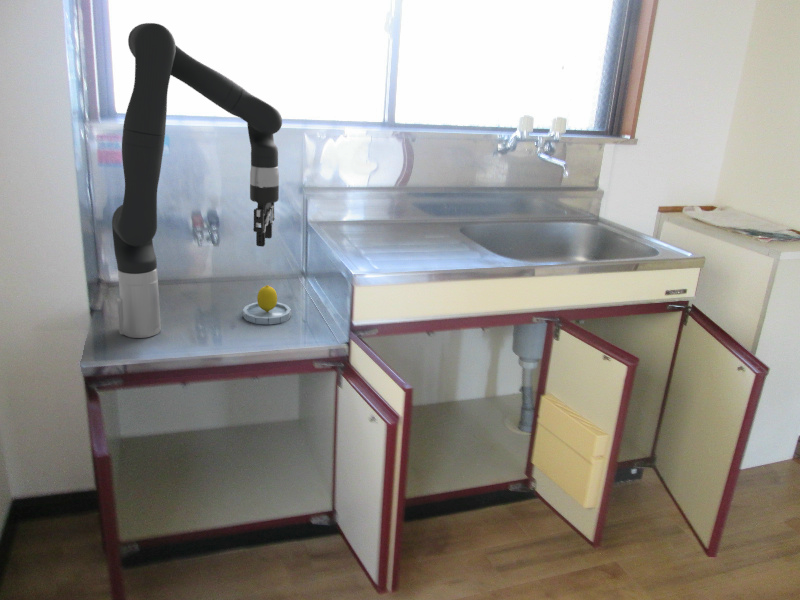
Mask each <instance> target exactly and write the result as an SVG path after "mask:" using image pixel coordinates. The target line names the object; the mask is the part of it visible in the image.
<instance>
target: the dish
mask: <svg viewBox="0 0 800 600" xmlns="http://www.w3.org/2000/svg"><path fill="white" fill-rule="evenodd" d="M291 316H292V308H291V307H289V305H288V304H285V303H282V302H279V301H277V304H276V306H275V307H274V308H273V309H272V310H270V311H269V312H266V311H265V310H263V309H261V308H260V307H259V305H258V301H257V302H253V303H250V304H247V305H245V306H244V308H243V309H242V317H243V319H244V320H245V321H247V322H249V323H252V324H256V325H275V324H276V325H277V324H282V323H284V322H286V321H288V320H290V318H291Z"/></svg>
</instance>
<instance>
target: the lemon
mask: <svg viewBox="0 0 800 600" xmlns="http://www.w3.org/2000/svg"><path fill="white" fill-rule="evenodd" d="M256 299H257V300H256V301H257V302H258V305H259V307H260V308H261V309H263V310H265V311H266V312H269V311H270V310H272V309H273V308H274V307H275V306H276V304H277V303H278V294H277V291H276V289H274V288H273V287H272V286H270V285H268V284H266V285H265V286H263V287H261V288H260V289H259V290H258V292H257V297H256Z"/></svg>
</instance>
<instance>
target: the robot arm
mask: <svg viewBox="0 0 800 600" xmlns="http://www.w3.org/2000/svg"><path fill="white" fill-rule="evenodd" d="M127 42H128V48H129V51H130V53H131V54H132V56H133V57H134V60H135V63H134V64H135V65H134V82H133V89H132V92H131V96H130V99H129V102H128V105H127V109H126V112H125V115H124V119H123V120H124V121H123V129H122V139H121V159H122V160H121V161H122V169H123V176H124V178H123V179H124V195H123V200H122V202H123V203H122V204H121V205H120V206H118V207H117V208H116V209H115V211H114V212H113V215H112V218H111V229H112V239H113V249H114V255H115V261H116V265H117V277H118V289H119V297H118V298H117V299H116V303H117V304H116V305H117V307H116V308H117V315H118V317H117V318H118V329H119V335H123V336H126V337H128V338H135V339H142V338H143V339H144V338H149V337H150V338H151V337H154V336H155V335H157V334H159V333H161V328H162V326H161V323H162V322H161V313H160V312H161V310H160V295H159V281H158V264H157V262H158V261H157V256H156V253H155V249H154V243H153V239H154V237H155V236H156V234H157V229H158V212H157V211H158V188H159V181H160V175H161V169H162V164H163V163H162V162H163V154H164V147H165V137H166V126H167V125H166V124H167V109H168V108H167V107H168V89H169V83H170V80H171V76H172V77H173V78H175V79H177V80H179V81H180V82H182V83H184V84H185V85H187V86H188V87H190V88H192V89H193V90H194V91H196V92H197V93H199V94H200V95H202V96H203V97H204V98H206V99H207V100H209V101H211V102H212V103H213V104H214V105H216V106H218V107H219V108H221V109H223V110H224V111H226V112H228V113H229V114H231V115H233V116H235V117H238V118H239V119H241V120H242V121H244V122H246V126H247V132H248V139H249V142H250V143H249V144H250V171H249V199H250V201H251V202H254V203H256V204H257V205H256V206H257V207H255V208H254V209H253V229H252V230H253V233H254V232H255V235H256V236H255V242H256V243H255V244H256V246H257V247H265V245H266V239H271V238H273V224H274V221H275V220H276V219H275V203H277V202H278V201H279V198H280V197H279V189H280V188H279V187H280V186H279V185H280V184H279V183H280V179H279V178H280V173H279V149H278V146H277V144H276V143H275V141H274V134H276V133H278V132H279V131H280V130H281V128H282V125H283V118H282V115H281V113H280V112H279V111H278V109H276V108H275V107H274V106H272V105H271V104H269V103H267V102H265V101H264V100H262V99H261V98H259V97H257V96H255V95H253V94H251V93H250V92H248V91H247V90H246V89H245V88H244V87H242V86H240V85H238V84H237V83H236V82H234V81H233V80H231V79H230V78H228V77H227V76H226V75H223V74H222V73H220V72H218V71H216V70H215V69H213V68H211V67H209V66H207V65H205V64H204V63H202V62H200V61H199V60H197V59H195V58H193V56H191V55H189V54H188V53H186V52H185V51H183V50H182V49H181V48H180V47H179V46H178V45H176V41H175V38H174V36H173V33H171V31H170V30H169V29H168V28H167V27H165V26H164V25H161V24H159V23H155V22H153V23H152V22H146V23H141V24H140V23H139V24H138V25H136V26H134V28H132V30H131V31H130V32H129V33H128V39H127ZM259 226H260V227H259Z"/></svg>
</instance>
